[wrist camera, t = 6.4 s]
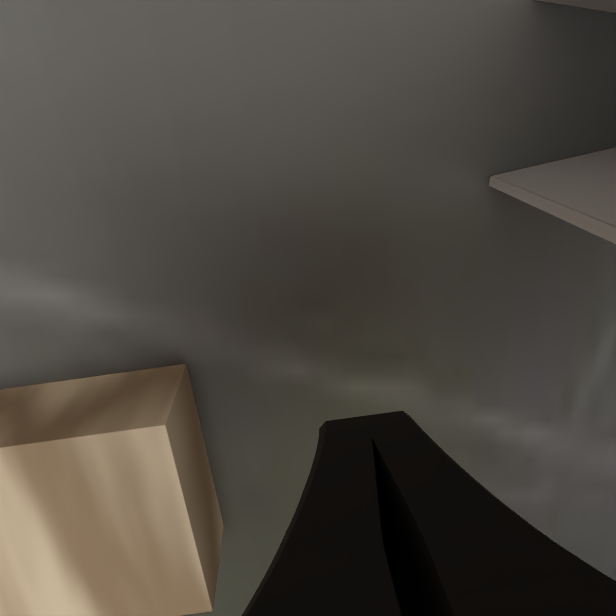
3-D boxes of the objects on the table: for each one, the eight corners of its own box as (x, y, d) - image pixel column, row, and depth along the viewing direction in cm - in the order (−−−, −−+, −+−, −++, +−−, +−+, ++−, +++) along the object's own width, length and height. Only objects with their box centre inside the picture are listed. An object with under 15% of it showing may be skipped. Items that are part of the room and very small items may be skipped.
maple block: (165, 424, 16) (-188, 473, 16) (212, 611, 19) (-94, 652, 19) (186, 362, 20) (-100, 402, 20) (224, 524, 23) (-32, 559, 23)
